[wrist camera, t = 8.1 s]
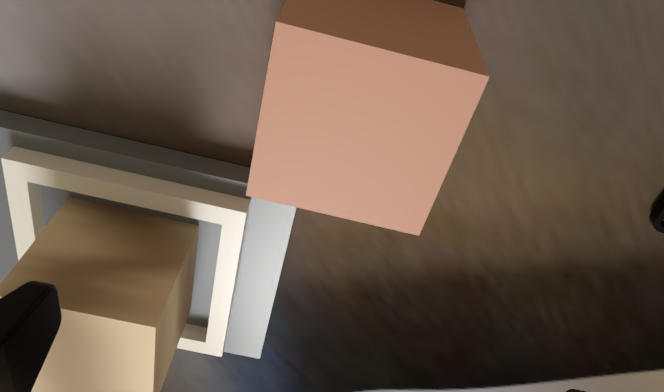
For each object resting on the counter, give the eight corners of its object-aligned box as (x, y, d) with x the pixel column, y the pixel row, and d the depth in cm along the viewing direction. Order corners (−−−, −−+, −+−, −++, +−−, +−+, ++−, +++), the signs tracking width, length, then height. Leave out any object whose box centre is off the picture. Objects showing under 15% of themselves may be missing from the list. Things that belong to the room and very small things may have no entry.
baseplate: (302, 179, 20) (296, 208, 19) (263, 341, 26) (256, 373, 25) (-22, 104, 20) (-54, 129, 18) (13, 290, 26) (-9, 320, 24)
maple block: (199, 225, 21) (155, 327, 17) (190, 309, 24) (152, 413, 20) (68, 197, 21) (-8, 294, 17) (76, 286, 24) (13, 387, 20)
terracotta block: (463, 7, 16) (489, 76, 12) (411, 144, 19) (419, 235, 15) (302, -36, 16) (275, 21, 12) (274, 110, 19) (245, 195, 15)
